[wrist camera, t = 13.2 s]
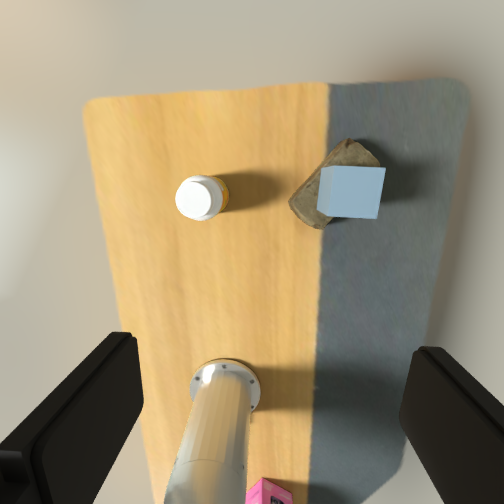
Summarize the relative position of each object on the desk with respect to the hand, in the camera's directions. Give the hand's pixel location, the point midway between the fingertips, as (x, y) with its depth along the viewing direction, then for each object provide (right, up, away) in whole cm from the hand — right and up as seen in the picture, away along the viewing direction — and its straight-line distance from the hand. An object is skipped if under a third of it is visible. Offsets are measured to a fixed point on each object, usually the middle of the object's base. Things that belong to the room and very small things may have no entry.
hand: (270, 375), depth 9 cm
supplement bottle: (-7, +12, +29) cm, 32 cm away
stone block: (+10, +14, +28) cm, 32 cm away
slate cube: (+10, +12, +23) cm, 28 cm away
